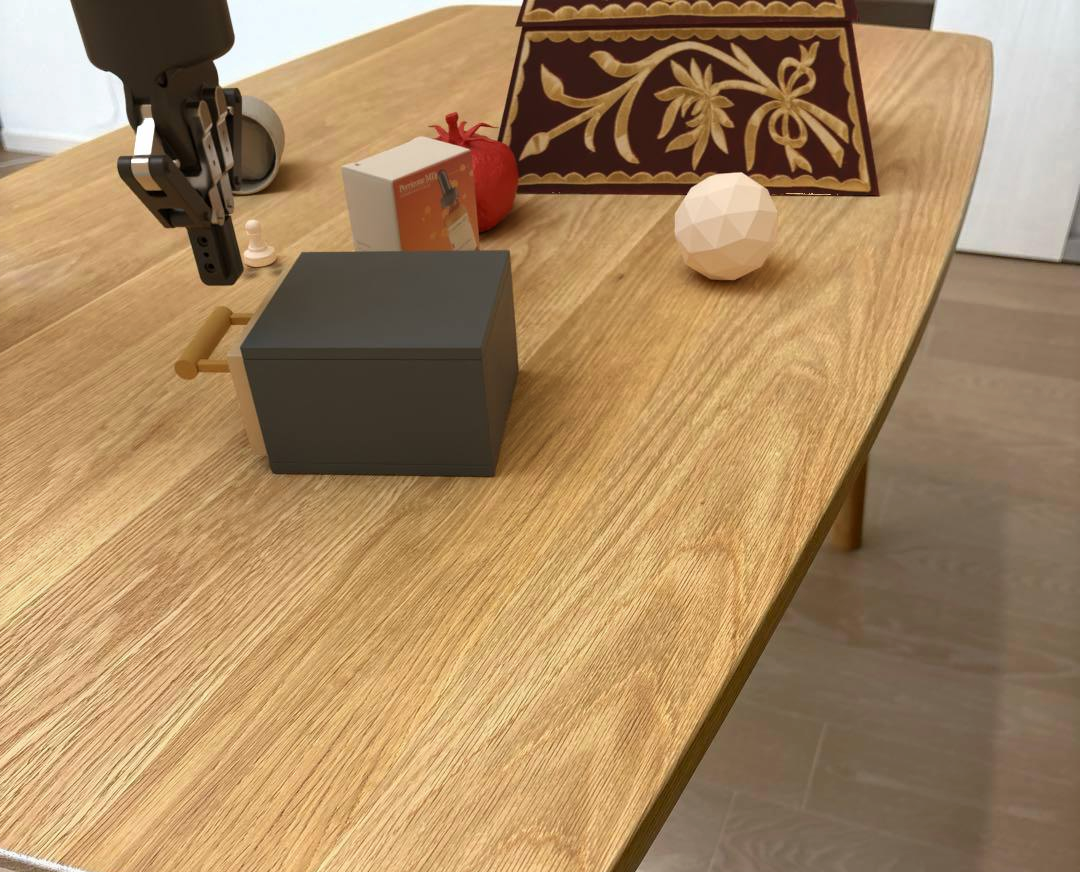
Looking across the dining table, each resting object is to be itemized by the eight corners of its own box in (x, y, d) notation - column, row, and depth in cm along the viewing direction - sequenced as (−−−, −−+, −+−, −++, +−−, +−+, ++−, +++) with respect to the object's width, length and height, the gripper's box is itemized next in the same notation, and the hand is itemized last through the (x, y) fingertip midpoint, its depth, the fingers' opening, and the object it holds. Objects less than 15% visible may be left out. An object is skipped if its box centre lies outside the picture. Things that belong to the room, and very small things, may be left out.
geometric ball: (715, 318, 83) (673, 260, 76) (687, 245, 87) (645, 185, 80) (806, 269, 80) (771, 205, 74) (773, 196, 84) (737, 130, 78)
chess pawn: (253, 270, 88) (243, 229, 85) (240, 260, 89) (230, 220, 87) (281, 261, 89) (272, 220, 87) (268, 251, 90) (259, 211, 88)
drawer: (181, 454, 65) (149, 355, 61) (240, 361, 74) (216, 269, 70) (455, 458, 63) (443, 356, 59) (483, 361, 72) (473, 267, 68)
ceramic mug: (293, 161, 108) (276, 81, 103) (288, 190, 101) (269, 107, 96) (187, 173, 107) (165, 93, 102) (175, 203, 101) (150, 120, 96)
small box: (409, 322, 79) (389, 181, 72) (361, 301, 82) (337, 165, 75) (486, 283, 83) (473, 147, 77) (437, 265, 86) (421, 133, 80)
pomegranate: (533, 200, 96) (526, 93, 90) (505, 246, 89) (496, 132, 83) (428, 196, 98) (415, 91, 92) (392, 241, 91) (376, 129, 85)
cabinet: (271, 473, 65) (238, 347, 59) (325, 368, 74) (301, 251, 69) (494, 477, 63) (481, 347, 58) (519, 369, 73) (509, 249, 67)
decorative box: (864, 122, 107) (895, -111, 95) (879, 196, 93) (918, -69, 80) (522, 123, 113) (508, -97, 100) (485, 192, 98) (464, -55, 86)
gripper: (120, -66, 58) (202, 236, 69) (2, -11, 48) (119, 334, 59) (252, -73, 58) (314, 234, 68) (160, -18, 47) (250, 333, 58)
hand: (223, 280), depth 64 cm, fingers closed
